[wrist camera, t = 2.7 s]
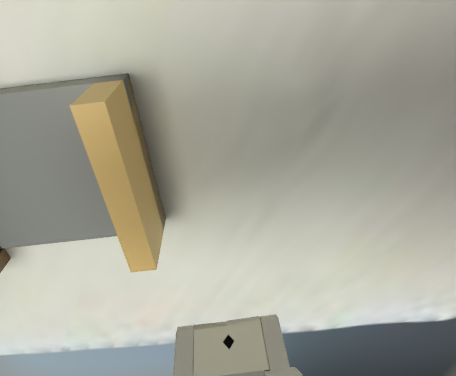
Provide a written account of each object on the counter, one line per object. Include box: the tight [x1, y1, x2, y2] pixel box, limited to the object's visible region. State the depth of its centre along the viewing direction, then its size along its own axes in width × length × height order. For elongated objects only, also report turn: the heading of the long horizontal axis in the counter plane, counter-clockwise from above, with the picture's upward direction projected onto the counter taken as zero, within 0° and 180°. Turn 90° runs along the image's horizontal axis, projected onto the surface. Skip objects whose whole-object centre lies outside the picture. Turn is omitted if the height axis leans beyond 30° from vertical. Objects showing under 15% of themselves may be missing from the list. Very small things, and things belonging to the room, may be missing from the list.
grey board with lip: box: [0, 74, 166, 272], centre depth 19 cm, size 11×10×5 cm
